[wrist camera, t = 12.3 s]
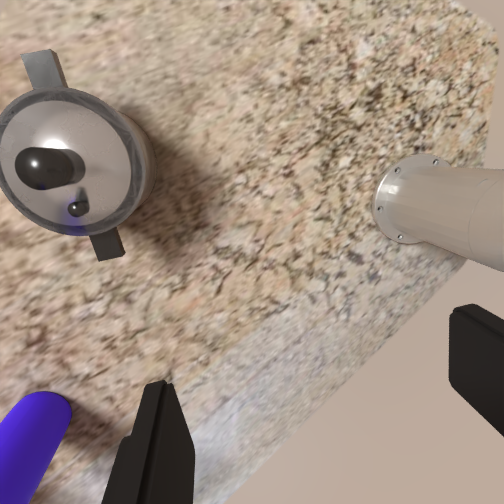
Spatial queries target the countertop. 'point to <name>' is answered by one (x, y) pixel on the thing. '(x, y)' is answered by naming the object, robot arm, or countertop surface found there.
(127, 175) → the lid
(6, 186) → the pot
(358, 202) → the countertop surface
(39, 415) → the bottle
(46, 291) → the countertop surface
